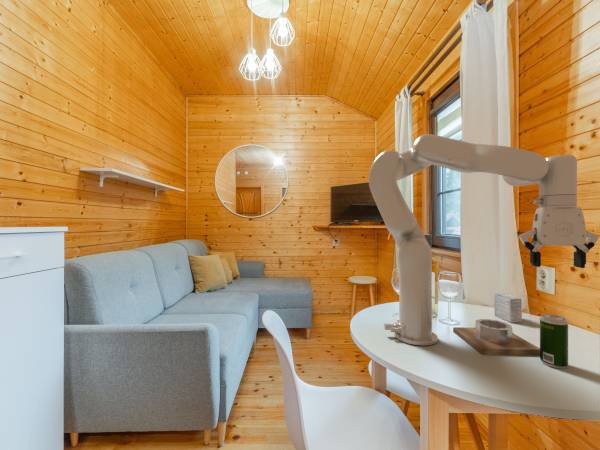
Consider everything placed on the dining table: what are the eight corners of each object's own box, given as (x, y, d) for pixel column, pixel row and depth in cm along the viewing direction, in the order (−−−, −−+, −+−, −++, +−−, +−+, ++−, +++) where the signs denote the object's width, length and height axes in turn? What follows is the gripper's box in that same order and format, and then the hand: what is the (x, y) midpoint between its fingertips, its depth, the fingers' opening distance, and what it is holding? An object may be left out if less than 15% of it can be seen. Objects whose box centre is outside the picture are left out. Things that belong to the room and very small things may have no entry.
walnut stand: (481, 354, 78) (481, 348, 78) (453, 331, 94) (453, 327, 94) (542, 355, 78) (542, 349, 77) (503, 332, 93) (503, 327, 93)
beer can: (564, 371, 69) (564, 322, 69) (536, 362, 73) (536, 316, 73) (571, 365, 72) (571, 318, 72) (544, 357, 76) (544, 312, 76)
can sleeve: (486, 343, 82) (486, 329, 82) (469, 331, 91) (469, 319, 91) (519, 343, 81) (519, 330, 81) (499, 331, 90) (499, 319, 90)
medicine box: (522, 322, 102) (522, 298, 102) (510, 323, 102) (510, 299, 102) (505, 315, 110) (505, 293, 110) (494, 315, 110) (494, 293, 110)
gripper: (526, 202, 75) (526, 267, 75) (608, 201, 70) (608, 270, 70) (513, 204, 82) (513, 263, 82) (586, 202, 77) (586, 265, 78)
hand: (557, 266), depth 76 cm, fingers open, 9 cm apart
